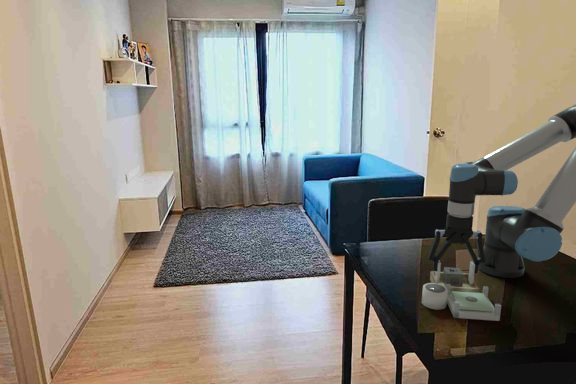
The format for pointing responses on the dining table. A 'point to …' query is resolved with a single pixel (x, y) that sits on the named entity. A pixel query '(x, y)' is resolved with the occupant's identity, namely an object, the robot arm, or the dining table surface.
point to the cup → (434, 296)
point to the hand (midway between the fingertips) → (453, 281)
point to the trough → (465, 288)
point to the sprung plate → (472, 301)
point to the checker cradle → (472, 313)
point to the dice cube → (453, 277)
